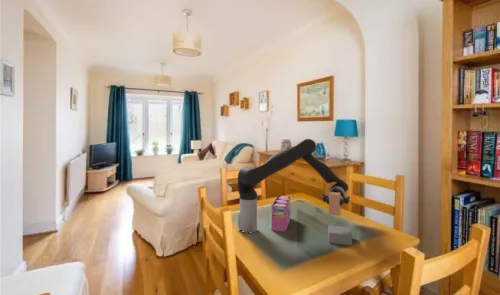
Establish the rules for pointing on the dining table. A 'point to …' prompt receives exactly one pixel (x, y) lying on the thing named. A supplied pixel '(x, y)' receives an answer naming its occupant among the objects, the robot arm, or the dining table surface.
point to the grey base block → (339, 235)
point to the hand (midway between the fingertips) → (334, 202)
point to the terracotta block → (334, 203)
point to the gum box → (281, 214)
